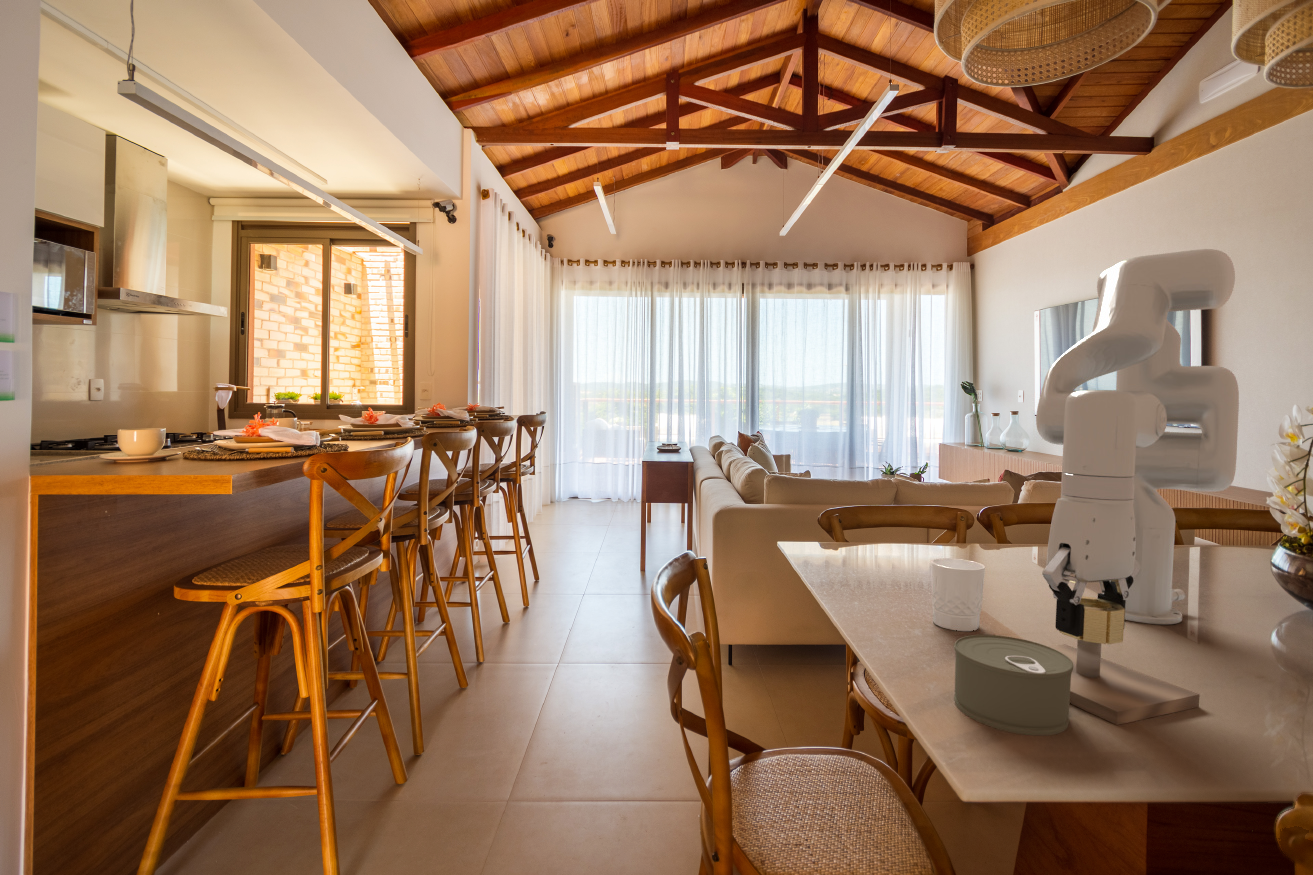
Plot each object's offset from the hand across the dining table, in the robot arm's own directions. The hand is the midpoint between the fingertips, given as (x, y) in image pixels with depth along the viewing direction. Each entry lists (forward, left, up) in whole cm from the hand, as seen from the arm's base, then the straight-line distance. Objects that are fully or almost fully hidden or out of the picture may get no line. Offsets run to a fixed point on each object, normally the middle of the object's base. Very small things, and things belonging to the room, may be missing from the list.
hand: (1089, 628), depth 82 cm
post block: (0, 0, -7) cm, 7 cm away
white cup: (-2, -24, -8) cm, 25 cm away
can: (+15, +2, -8) cm, 17 cm away
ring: (0, 0, -1) cm, 1 cm away
